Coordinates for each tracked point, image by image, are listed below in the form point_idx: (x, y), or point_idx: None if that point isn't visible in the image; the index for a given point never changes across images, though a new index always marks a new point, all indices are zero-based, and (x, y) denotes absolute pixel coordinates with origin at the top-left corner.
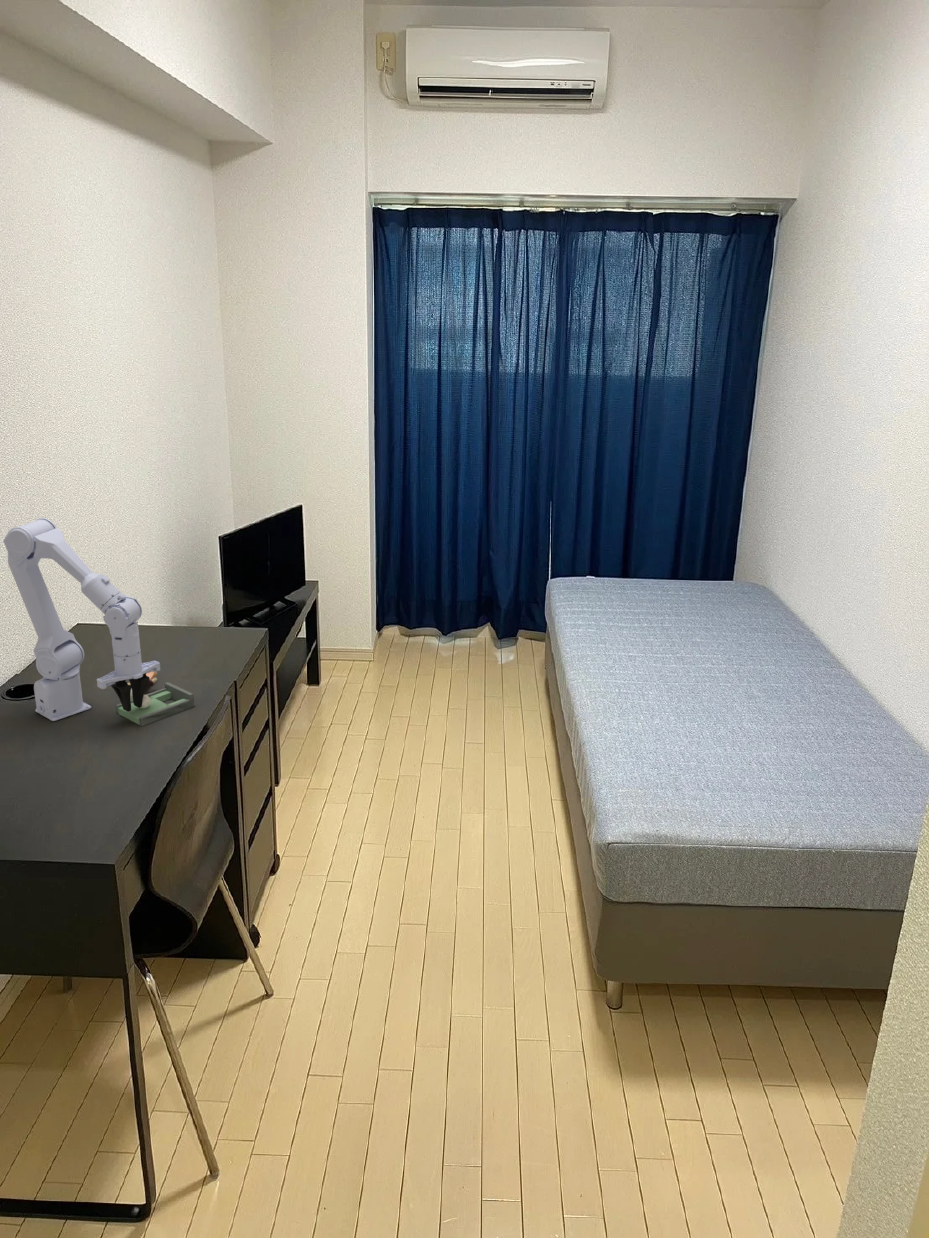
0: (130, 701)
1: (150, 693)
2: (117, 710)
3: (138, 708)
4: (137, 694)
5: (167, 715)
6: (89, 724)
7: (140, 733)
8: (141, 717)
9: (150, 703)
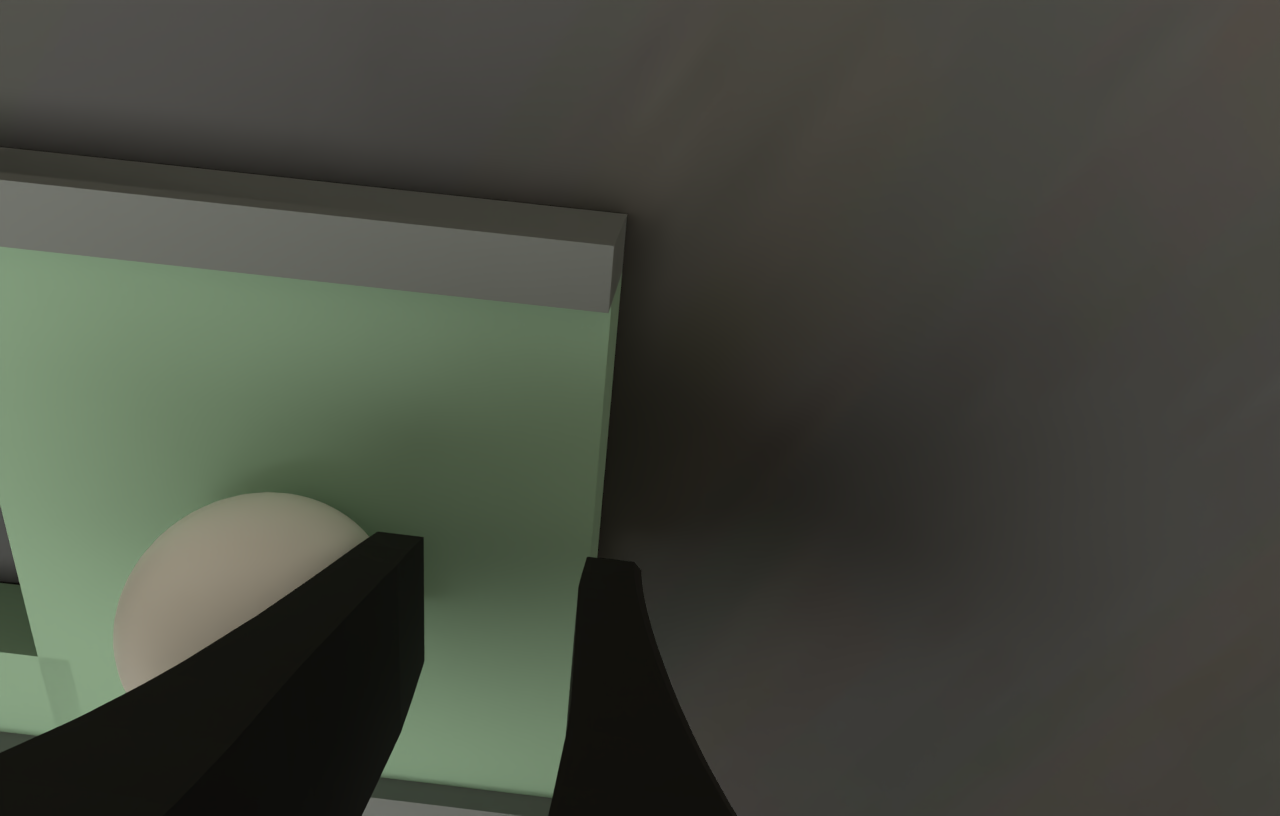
0: (578, 660)
1: None
2: None
3: None
4: (304, 754)
5: (133, 164)
6: (977, 775)
7: (820, 6)
8: (588, 264)
9: None
